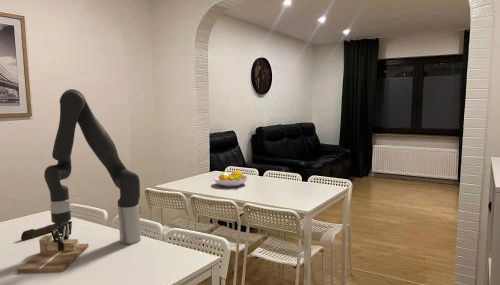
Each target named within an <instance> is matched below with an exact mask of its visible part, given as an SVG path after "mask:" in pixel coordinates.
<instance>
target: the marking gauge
mask: <svg viewBox="0 0 500 285" xmlns="http://www.w3.org/2000/svg"><path fill="white" fill-rule="evenodd" d="M38 241H39V242H38V243H39V253H40V252H47V251H58V243H54V240H53V237H52V234H45V235H44V236H43V237H41V238H40V239H39V240H38ZM63 242H64V250H63V251H68V250H75V249H76V248H77V247H78V244H79V239H78V238H73V239H72V238H71V239H70V238H69V239H65V240H63Z"/></svg>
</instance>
